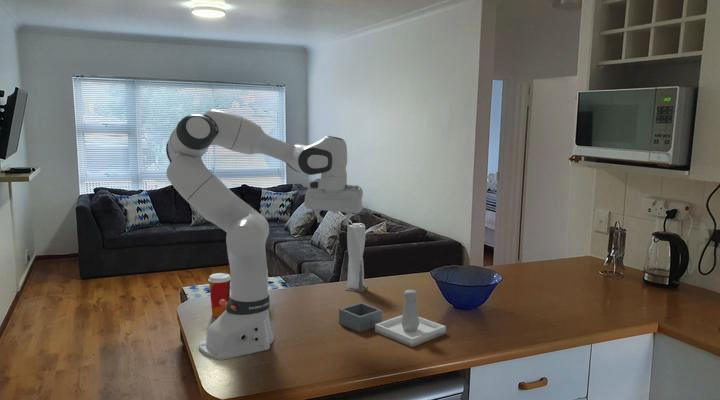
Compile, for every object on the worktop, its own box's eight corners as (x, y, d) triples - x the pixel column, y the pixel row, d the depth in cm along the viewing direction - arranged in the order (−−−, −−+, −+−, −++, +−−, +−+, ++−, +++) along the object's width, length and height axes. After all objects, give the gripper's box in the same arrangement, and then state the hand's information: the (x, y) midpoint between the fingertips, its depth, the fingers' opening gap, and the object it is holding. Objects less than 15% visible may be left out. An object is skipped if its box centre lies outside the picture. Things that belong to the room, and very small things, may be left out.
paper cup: (220, 309, 196) (219, 271, 194) (236, 313, 192) (235, 274, 190) (204, 316, 189) (202, 276, 187) (220, 320, 186) (219, 280, 183)
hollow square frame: (359, 332, 177) (359, 317, 176) (338, 323, 184) (339, 309, 184) (382, 324, 184) (382, 310, 183) (361, 316, 191) (361, 302, 190)
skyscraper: (342, 289, 220) (342, 221, 216) (349, 284, 228) (349, 217, 224) (362, 292, 217) (363, 222, 213) (368, 286, 225) (369, 219, 221)
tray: (411, 347, 166) (412, 339, 166) (374, 331, 178) (375, 324, 177) (445, 333, 177) (445, 326, 176) (408, 319, 188) (408, 312, 188)
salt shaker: (422, 329, 177) (423, 290, 175) (412, 334, 173) (413, 294, 171) (407, 325, 181) (408, 286, 179) (397, 329, 177) (398, 290, 175)
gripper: (365, 184, 188) (364, 224, 190) (310, 181, 194) (309, 219, 196) (360, 186, 182) (358, 227, 184) (302, 182, 188) (302, 222, 190)
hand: (332, 223), depth 190 cm, fingers open, 8 cm apart
